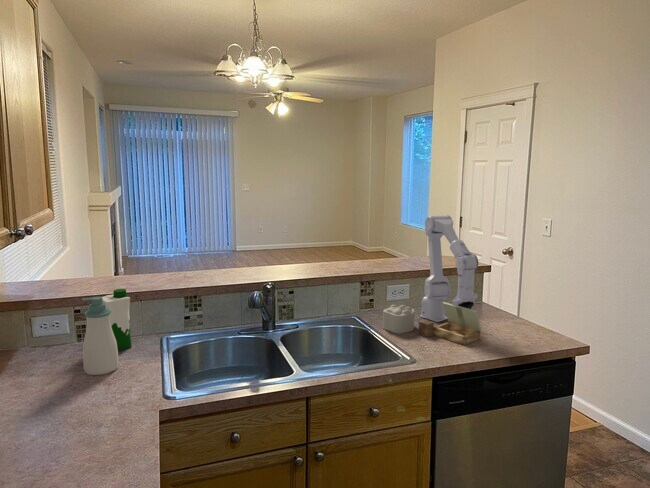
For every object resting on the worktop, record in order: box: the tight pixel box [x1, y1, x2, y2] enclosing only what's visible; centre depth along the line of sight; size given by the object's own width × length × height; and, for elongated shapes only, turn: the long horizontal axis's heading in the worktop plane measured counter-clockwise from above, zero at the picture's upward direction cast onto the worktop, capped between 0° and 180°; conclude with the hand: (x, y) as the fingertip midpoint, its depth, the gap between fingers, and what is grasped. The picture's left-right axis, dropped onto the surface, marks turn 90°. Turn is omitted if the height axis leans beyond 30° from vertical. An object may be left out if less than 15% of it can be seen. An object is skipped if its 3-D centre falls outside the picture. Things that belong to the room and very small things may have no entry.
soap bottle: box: [81, 296, 120, 376], centre depth 140 cm, size 10×10×23 cm
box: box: [432, 321, 481, 346], centre depth 175 cm, size 14×10×3 cm
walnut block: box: [417, 319, 435, 338], centre depth 177 cm, size 4×4×5 cm
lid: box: [443, 301, 482, 332], centre depth 176 cm, size 14×10×1 cm
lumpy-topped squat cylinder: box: [382, 304, 416, 334], centre depth 184 cm, size 10×13×9 cm
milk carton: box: [101, 288, 132, 352], centre depth 157 cm, size 9×9×20 cm
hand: (463, 319), depth 177 cm, fingers closed, pressing on lid
